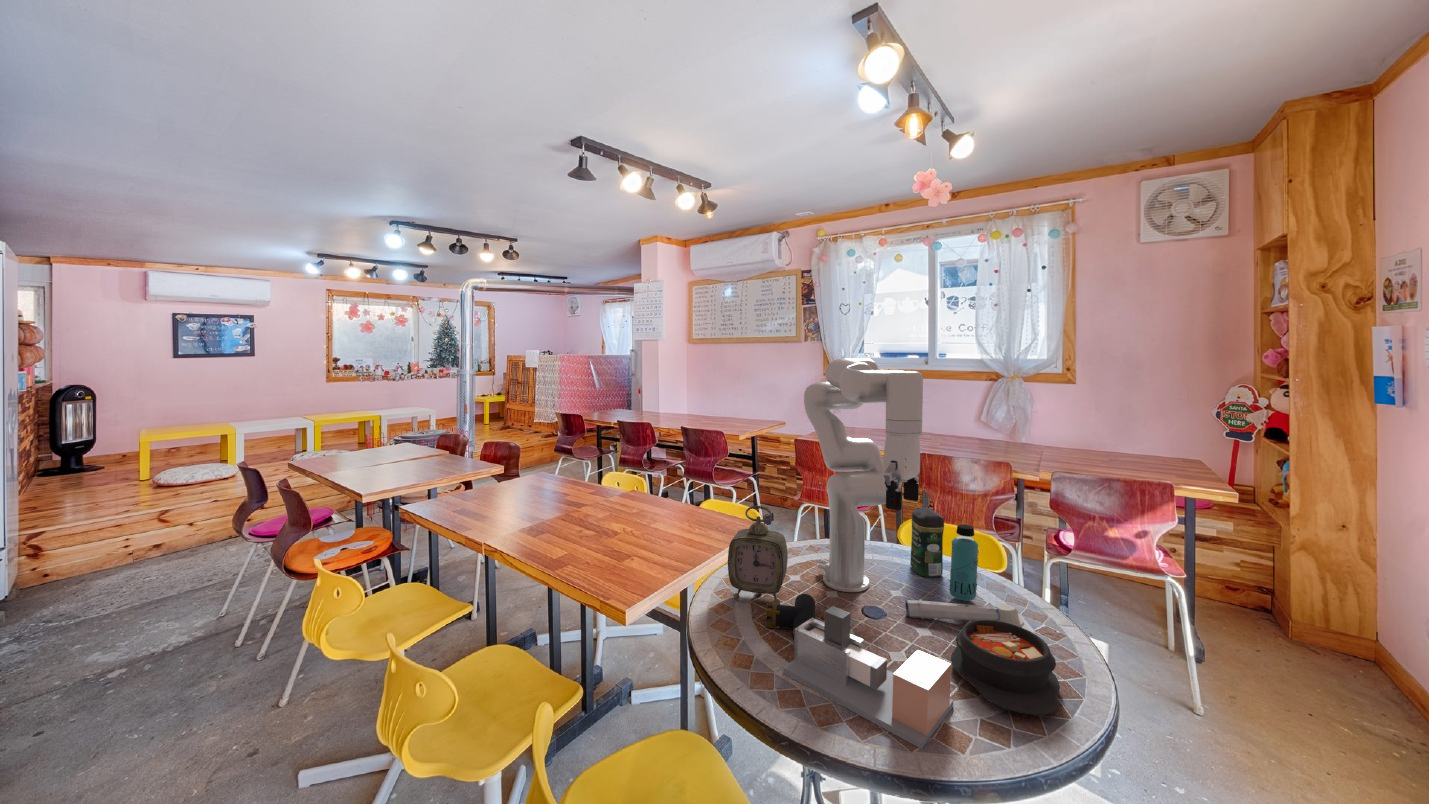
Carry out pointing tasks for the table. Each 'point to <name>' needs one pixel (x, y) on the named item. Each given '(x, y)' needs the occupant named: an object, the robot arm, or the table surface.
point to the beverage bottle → (964, 564)
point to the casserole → (1007, 666)
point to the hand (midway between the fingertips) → (902, 504)
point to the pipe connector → (790, 613)
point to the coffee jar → (927, 542)
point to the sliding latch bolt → (853, 649)
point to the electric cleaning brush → (962, 611)
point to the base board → (862, 700)
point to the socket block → (921, 691)
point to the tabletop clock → (757, 558)
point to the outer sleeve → (823, 652)
